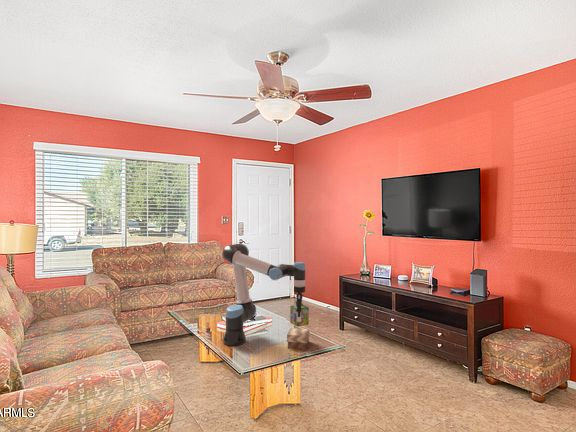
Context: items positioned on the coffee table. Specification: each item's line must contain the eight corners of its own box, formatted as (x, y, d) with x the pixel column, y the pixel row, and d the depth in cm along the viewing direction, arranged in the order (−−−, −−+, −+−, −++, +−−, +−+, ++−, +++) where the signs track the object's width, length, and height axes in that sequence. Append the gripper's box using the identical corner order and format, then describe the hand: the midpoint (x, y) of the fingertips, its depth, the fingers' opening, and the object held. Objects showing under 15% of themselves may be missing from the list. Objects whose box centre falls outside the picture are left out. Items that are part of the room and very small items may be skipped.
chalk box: (297, 327, 225) (297, 304, 225) (289, 323, 233) (289, 300, 233) (309, 324, 231) (309, 302, 230) (301, 321, 238) (301, 299, 238)
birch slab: (287, 341, 227) (287, 334, 226) (290, 334, 239) (290, 328, 239) (307, 343, 224) (307, 336, 224) (309, 336, 237) (309, 329, 237)
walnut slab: (287, 349, 226) (287, 342, 226) (289, 341, 239) (289, 335, 239) (308, 349, 225) (308, 342, 225) (308, 342, 238) (308, 335, 238)
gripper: (304, 290, 219) (304, 324, 219) (305, 282, 244) (305, 313, 244) (292, 289, 220) (292, 324, 220) (294, 282, 244) (294, 313, 244)
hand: (299, 318), depth 232 cm, fingers closed on chalk box, 12 cm apart
